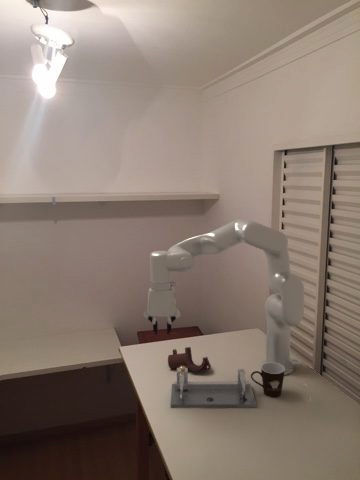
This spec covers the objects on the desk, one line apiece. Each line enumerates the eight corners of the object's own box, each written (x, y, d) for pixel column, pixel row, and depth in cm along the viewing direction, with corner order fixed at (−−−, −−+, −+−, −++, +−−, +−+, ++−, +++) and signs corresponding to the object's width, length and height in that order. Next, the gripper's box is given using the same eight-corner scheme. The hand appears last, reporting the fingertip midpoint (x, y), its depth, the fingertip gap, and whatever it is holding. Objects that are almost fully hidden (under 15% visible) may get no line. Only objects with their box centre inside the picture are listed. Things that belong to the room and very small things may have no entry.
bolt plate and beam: (250, 386, 162) (250, 366, 160) (256, 407, 148) (256, 385, 146) (172, 386, 162) (171, 366, 161) (170, 407, 149) (170, 386, 147)
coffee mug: (286, 389, 159) (287, 364, 157) (281, 401, 151) (282, 375, 149) (255, 383, 164) (256, 359, 162) (249, 394, 156) (250, 369, 154)
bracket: (209, 370, 169) (205, 344, 171) (169, 374, 173) (166, 349, 175) (212, 369, 175) (209, 344, 177) (173, 373, 179) (170, 349, 181)
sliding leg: (187, 383, 161) (187, 364, 159) (187, 399, 151) (187, 378, 149) (177, 383, 161) (176, 364, 160) (176, 399, 151) (175, 378, 149)
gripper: (184, 282, 155) (185, 329, 159) (139, 282, 156) (141, 329, 159) (184, 288, 148) (184, 337, 151) (136, 288, 148) (138, 337, 152)
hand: (162, 332), depth 155 cm, fingers open, 3 cm apart
